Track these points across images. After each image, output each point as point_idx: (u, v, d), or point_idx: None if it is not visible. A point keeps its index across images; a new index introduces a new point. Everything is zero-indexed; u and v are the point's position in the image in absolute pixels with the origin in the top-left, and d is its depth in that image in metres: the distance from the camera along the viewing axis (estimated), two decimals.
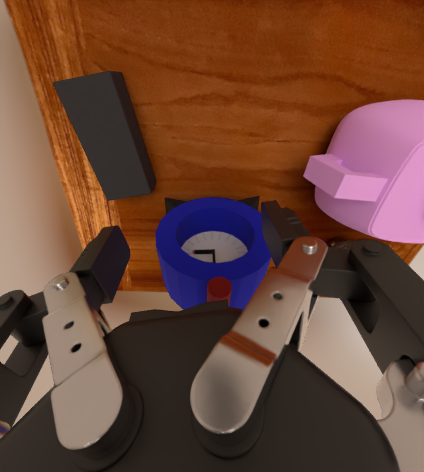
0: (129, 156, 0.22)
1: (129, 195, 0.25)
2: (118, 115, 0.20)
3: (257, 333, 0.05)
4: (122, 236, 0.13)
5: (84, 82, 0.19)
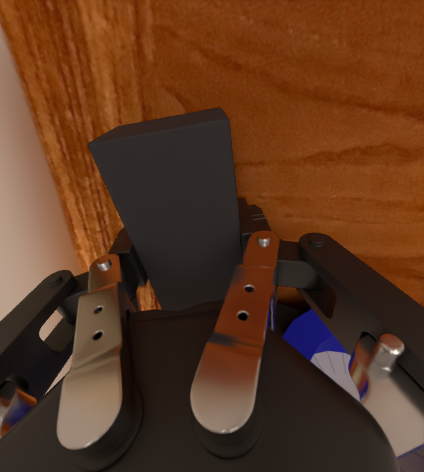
0: (226, 269, 0.11)
1: None
2: (224, 204, 0.09)
3: (239, 327, 0.05)
4: None
5: (162, 144, 0.08)
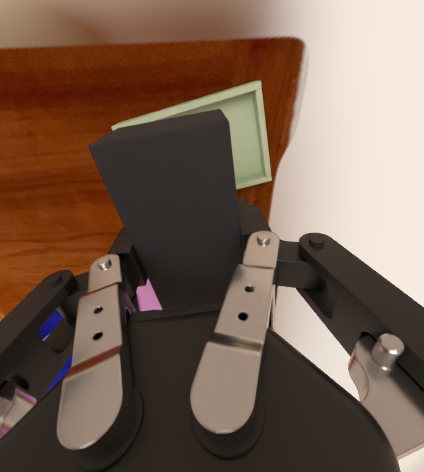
0: (226, 269, 0.11)
1: None
2: (224, 205, 0.09)
3: (239, 327, 0.05)
4: None
5: (162, 145, 0.08)
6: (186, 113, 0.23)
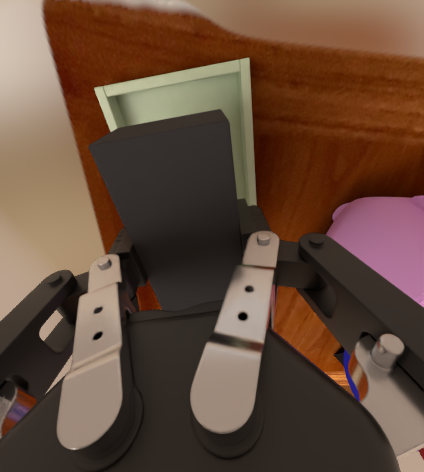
0: (226, 269, 0.11)
1: None
2: (224, 205, 0.09)
3: (239, 327, 0.05)
4: None
5: (163, 145, 0.08)
6: None
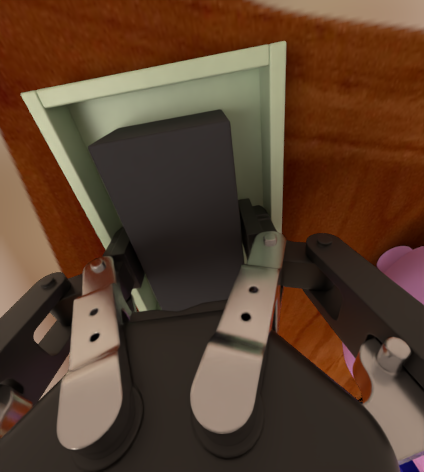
0: (227, 271, 0.11)
1: None
2: (224, 206, 0.09)
3: (242, 328, 0.05)
4: None
5: (163, 146, 0.08)
6: None
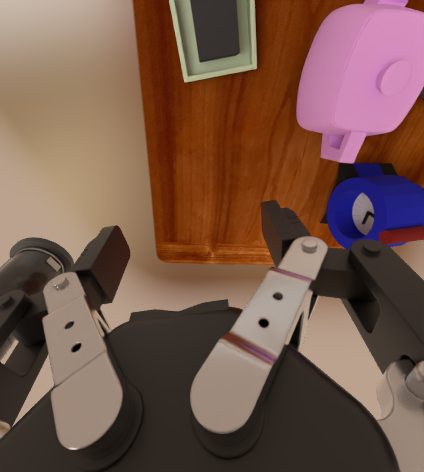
0: (228, 6, 0.25)
1: (220, 54, 0.27)
2: None
3: (257, 333, 0.05)
4: (122, 236, 0.13)
5: None
6: (179, 9, 0.27)
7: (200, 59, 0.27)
